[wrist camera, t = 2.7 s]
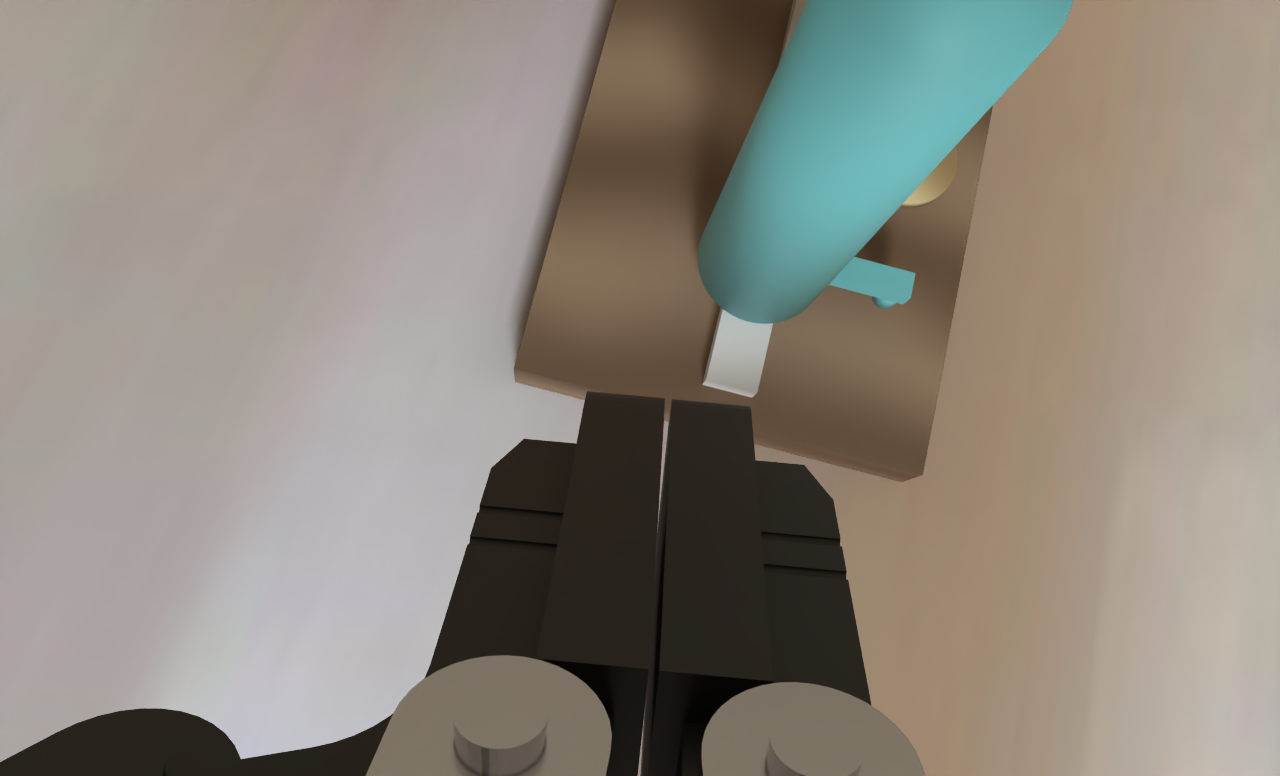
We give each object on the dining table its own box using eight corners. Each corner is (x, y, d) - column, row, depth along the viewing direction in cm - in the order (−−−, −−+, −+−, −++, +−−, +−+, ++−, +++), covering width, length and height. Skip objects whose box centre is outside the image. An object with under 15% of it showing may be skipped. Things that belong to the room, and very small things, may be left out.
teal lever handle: (884, 360, 34) (1195, 141, 18) (683, 307, 33) (816, 36, 18) (908, 240, 35) (1227, -72, 19) (712, 187, 34) (865, -175, 18)
